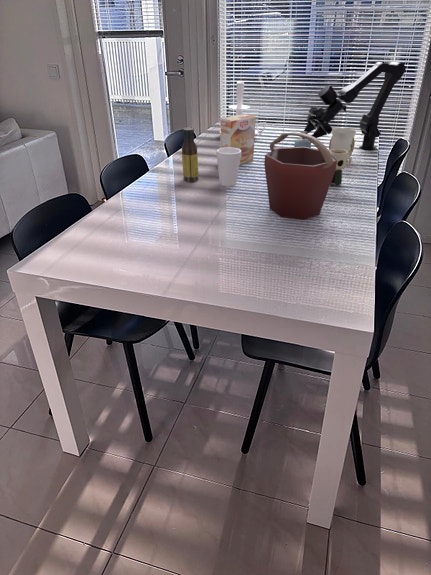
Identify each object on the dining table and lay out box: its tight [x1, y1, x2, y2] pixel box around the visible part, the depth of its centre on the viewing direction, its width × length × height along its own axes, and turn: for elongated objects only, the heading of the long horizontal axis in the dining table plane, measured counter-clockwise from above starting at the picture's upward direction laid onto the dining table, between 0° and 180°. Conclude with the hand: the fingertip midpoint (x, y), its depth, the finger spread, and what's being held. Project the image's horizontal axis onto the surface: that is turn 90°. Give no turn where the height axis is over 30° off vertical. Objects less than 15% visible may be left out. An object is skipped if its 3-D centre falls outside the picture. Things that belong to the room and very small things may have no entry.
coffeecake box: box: [219, 113, 257, 166], centre depth 189 cm, size 15×7×20 cm, turn 131°
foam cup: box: [216, 147, 241, 188], centre depth 167 cm, size 10×9×13 cm
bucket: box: [263, 132, 337, 221], centre depth 142 cm, size 24×22×25 cm
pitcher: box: [328, 127, 357, 162], centre depth 196 cm, size 11×18×14 cm, turn 160°
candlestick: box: [218, 80, 267, 137], centre depth 224 cm, size 21×25×28 cm
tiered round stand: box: [293, 138, 312, 148], centre depth 209 cm, size 13×13×6 cm
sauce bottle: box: [181, 127, 199, 183], centre depth 169 cm, size 6×6×20 cm
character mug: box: [328, 149, 353, 186], centre depth 168 cm, size 11×7×13 cm, turn 73°
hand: (306, 137), depth 207 cm, fingers open, 9 cm apart
